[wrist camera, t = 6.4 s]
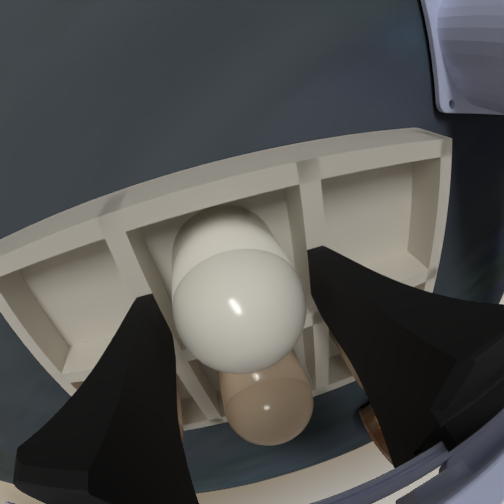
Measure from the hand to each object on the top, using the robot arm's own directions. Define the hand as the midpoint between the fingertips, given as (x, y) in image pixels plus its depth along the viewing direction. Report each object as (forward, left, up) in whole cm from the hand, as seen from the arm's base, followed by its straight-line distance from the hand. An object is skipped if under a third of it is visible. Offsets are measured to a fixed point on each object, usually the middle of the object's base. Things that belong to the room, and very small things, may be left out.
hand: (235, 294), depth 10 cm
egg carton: (0, +3, -3) cm, 5 cm away
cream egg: (0, 0, -3) cm, 3 cm away
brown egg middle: (0, +7, -3) cm, 7 cm away
